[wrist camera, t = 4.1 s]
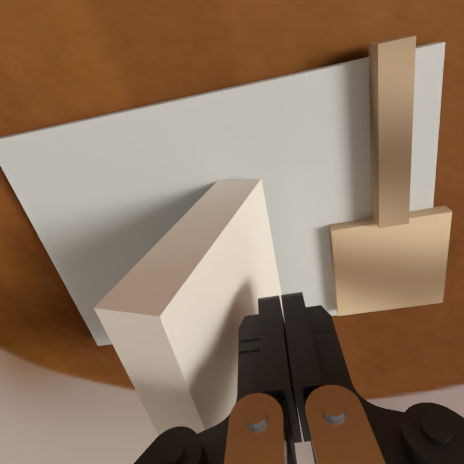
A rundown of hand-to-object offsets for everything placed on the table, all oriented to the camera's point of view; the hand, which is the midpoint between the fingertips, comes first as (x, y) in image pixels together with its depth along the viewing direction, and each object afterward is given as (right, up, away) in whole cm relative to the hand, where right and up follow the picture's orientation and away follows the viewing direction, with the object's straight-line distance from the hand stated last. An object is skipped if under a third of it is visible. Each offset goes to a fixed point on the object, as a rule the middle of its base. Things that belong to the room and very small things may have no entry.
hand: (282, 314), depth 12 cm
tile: (-1, +2, +4) cm, 5 cm away
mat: (-2, +3, +5) cm, 6 cm away
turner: (+5, +4, +3) cm, 7 cm away
